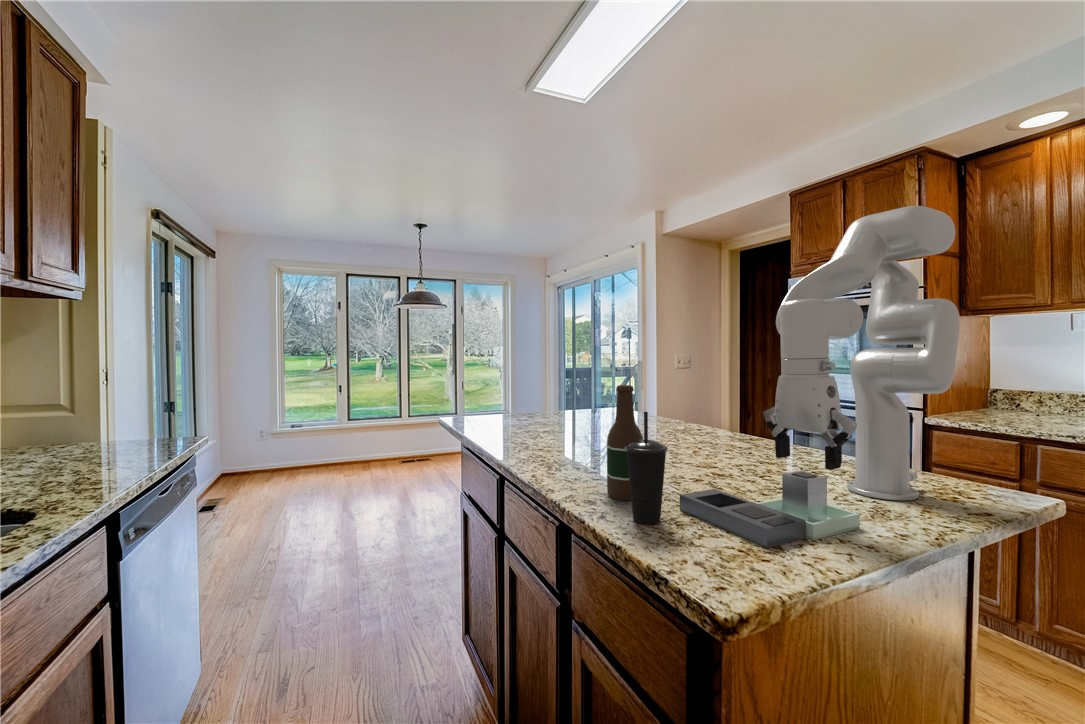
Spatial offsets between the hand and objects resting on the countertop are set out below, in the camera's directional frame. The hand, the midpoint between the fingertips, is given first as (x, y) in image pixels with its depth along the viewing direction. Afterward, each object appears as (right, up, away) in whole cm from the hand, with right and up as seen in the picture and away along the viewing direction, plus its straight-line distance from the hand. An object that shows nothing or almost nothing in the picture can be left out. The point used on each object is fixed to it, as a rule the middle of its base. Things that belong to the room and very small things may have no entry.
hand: (806, 462), depth 83 cm
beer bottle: (-30, -11, +16) cm, 36 cm away
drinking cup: (-29, -11, +1) cm, 31 cm away
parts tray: (-1, -11, 0) cm, 11 cm away
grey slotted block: (-13, -11, 0) cm, 17 cm away
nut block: (-1, -10, 0) cm, 10 cm away
